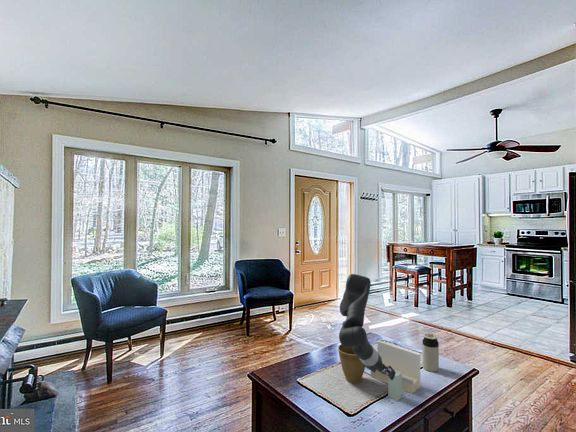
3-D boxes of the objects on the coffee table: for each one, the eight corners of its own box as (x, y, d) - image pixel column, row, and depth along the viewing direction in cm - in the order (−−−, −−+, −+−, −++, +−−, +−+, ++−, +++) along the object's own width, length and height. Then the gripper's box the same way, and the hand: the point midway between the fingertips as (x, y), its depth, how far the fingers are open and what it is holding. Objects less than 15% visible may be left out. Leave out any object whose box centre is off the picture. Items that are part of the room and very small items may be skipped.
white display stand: (412, 393, 146) (412, 359, 145) (370, 376, 162) (370, 345, 161) (420, 386, 152) (420, 353, 152) (379, 369, 168) (379, 340, 168)
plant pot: (368, 373, 164) (368, 343, 164) (367, 389, 149) (367, 356, 149) (339, 370, 168) (339, 340, 168) (336, 384, 153) (336, 352, 153)
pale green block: (397, 400, 141) (397, 376, 140) (388, 396, 144) (388, 372, 144) (402, 396, 144) (402, 372, 144) (393, 392, 147) (393, 369, 147)
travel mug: (421, 369, 168) (421, 336, 168) (424, 363, 174) (424, 331, 174) (437, 373, 163) (437, 339, 163) (439, 367, 170) (439, 334, 170)
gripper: (388, 353, 125) (401, 371, 133) (358, 343, 135) (372, 360, 143) (381, 371, 122) (395, 389, 130) (351, 359, 132) (366, 376, 140)
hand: (383, 374), depth 137 cm, fingers open, 8 cm apart
